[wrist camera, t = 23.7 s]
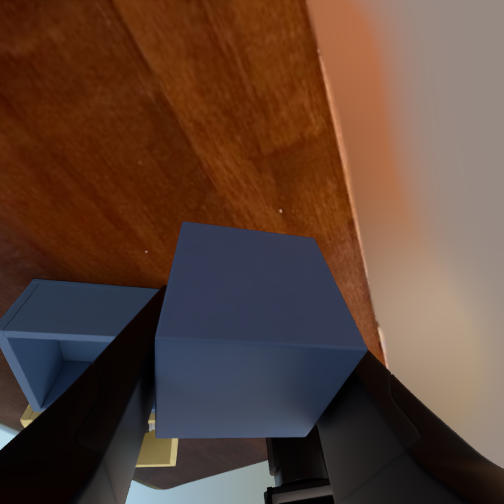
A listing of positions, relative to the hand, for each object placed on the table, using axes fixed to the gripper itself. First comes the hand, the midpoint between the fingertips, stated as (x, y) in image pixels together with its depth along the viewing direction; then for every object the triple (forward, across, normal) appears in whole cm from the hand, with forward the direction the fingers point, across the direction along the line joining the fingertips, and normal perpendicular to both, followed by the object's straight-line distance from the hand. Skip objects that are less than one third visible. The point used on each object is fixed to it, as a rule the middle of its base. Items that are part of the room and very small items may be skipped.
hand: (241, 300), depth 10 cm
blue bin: (+9, +8, +13) cm, 18 cm away
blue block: (+1, 0, 0) cm, 1 cm away
